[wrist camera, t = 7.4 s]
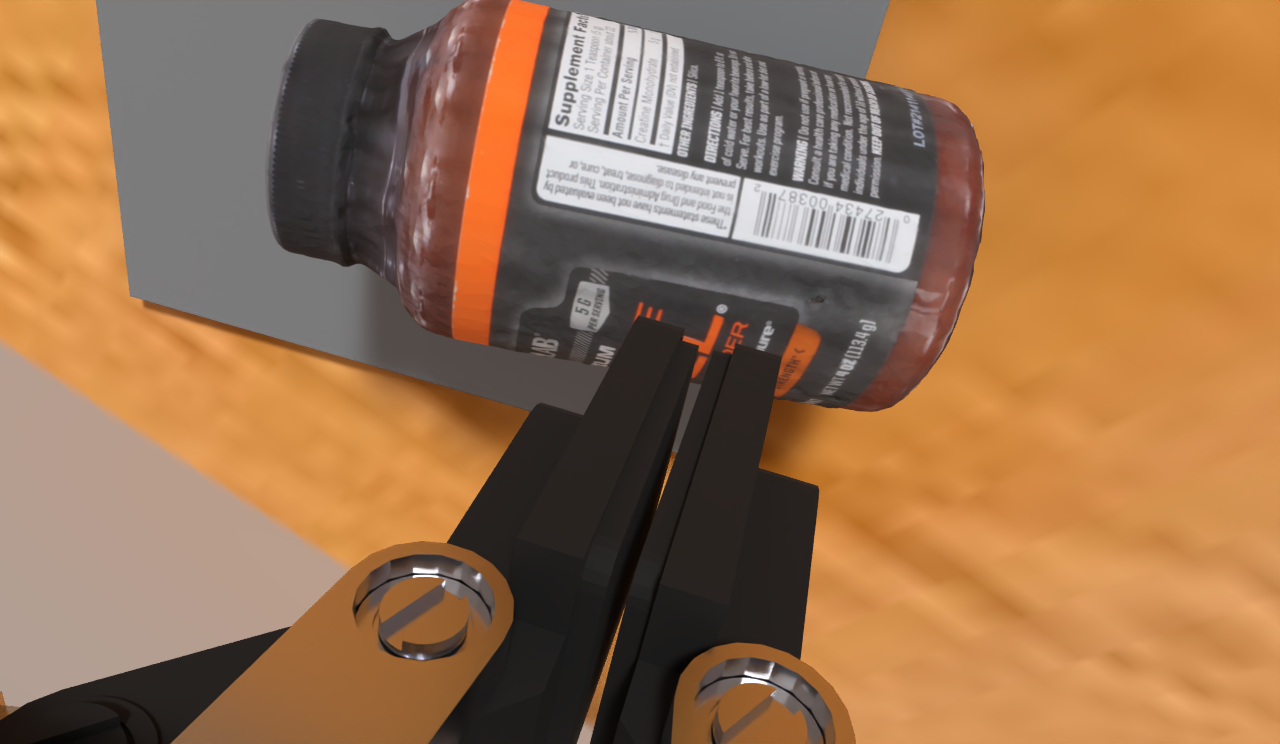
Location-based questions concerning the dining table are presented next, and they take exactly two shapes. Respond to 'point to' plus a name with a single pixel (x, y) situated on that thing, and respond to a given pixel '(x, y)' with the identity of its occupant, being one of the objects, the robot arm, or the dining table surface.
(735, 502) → the robot arm
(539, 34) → the supplement bottle
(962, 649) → the dining table surface
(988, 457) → the dining table surface
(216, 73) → the mat
